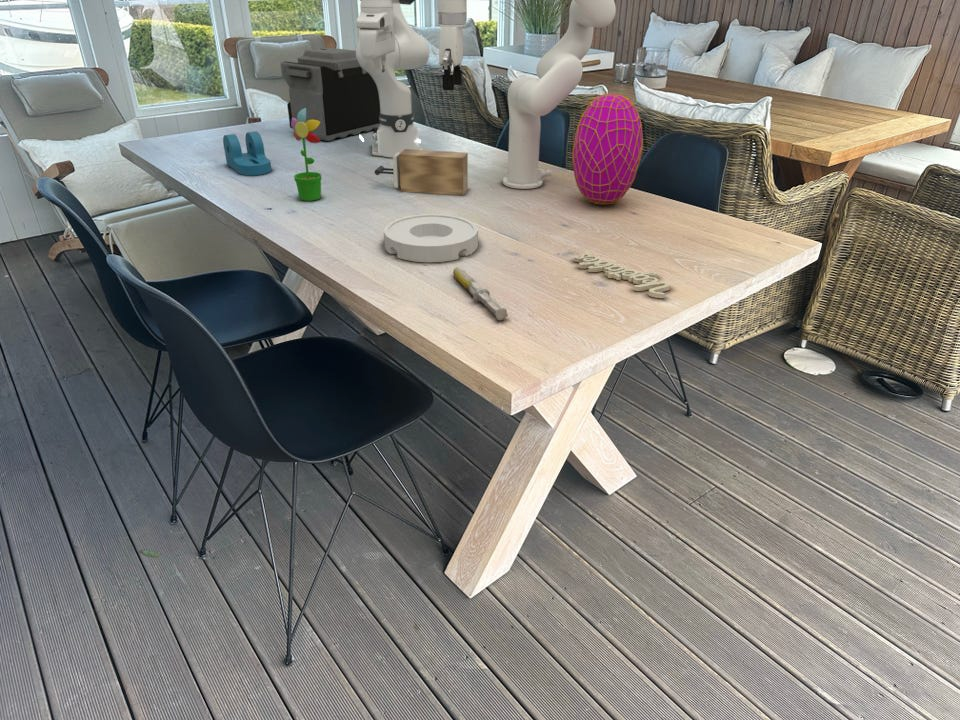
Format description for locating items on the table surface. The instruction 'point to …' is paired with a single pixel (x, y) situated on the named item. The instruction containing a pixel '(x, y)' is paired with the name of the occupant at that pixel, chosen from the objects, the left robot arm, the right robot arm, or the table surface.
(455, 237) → the ashtray
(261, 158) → the camera mount
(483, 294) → the syringe
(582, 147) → the decorative egg
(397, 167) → the drawer
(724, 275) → the table surface
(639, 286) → the decorative sign
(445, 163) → the tan elongated box
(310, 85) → the electronic device
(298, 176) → the potted flower
